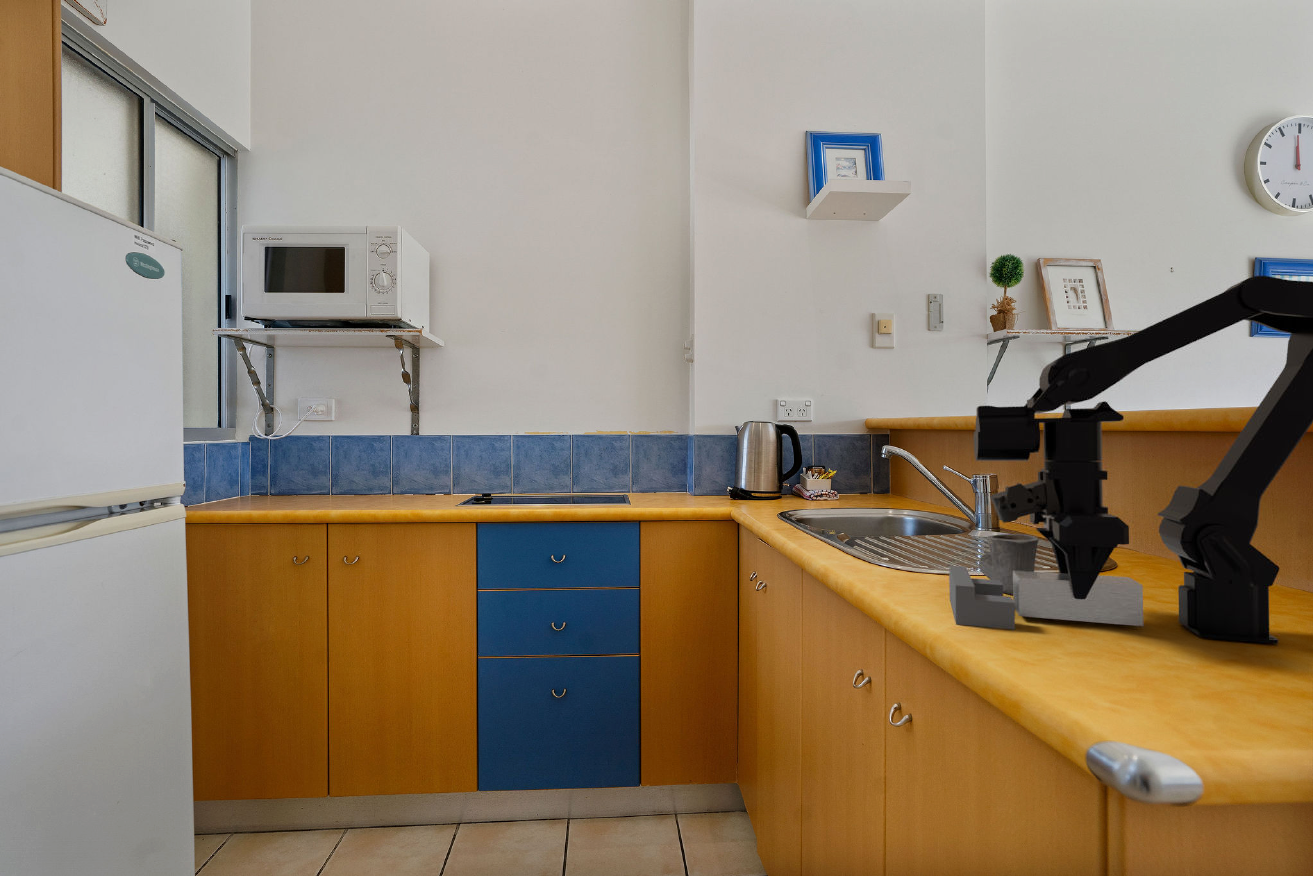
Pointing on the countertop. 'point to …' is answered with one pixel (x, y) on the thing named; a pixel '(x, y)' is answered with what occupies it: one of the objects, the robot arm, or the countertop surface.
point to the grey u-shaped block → (979, 601)
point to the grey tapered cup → (1008, 557)
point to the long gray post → (1055, 599)
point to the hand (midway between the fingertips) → (1074, 594)
